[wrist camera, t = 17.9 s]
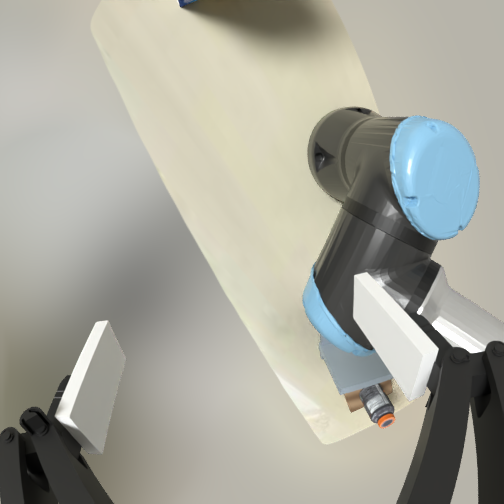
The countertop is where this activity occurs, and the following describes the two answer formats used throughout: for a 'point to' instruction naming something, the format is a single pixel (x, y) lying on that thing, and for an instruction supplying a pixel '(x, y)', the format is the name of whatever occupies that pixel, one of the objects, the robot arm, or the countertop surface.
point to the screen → (352, 368)
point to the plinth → (355, 401)
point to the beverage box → (185, 2)
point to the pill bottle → (377, 405)
